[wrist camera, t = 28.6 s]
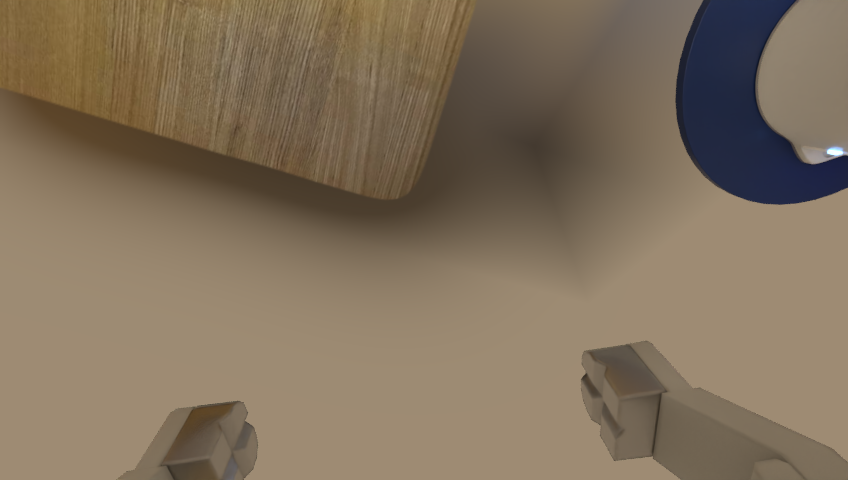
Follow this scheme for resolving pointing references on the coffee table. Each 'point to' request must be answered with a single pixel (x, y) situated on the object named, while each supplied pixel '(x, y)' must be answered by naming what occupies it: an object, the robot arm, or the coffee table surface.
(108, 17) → the coffee table surface
